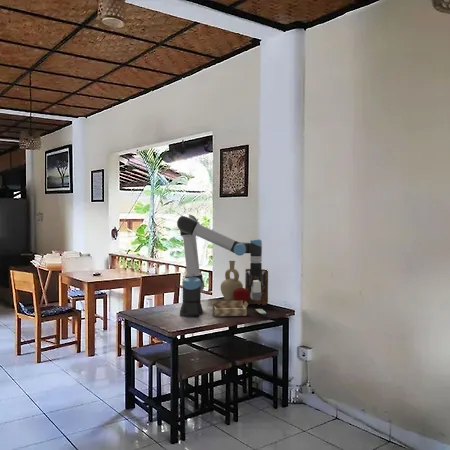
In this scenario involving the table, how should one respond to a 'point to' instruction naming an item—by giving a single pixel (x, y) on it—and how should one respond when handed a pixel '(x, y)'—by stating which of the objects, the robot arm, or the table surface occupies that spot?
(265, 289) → the book
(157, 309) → the table surface
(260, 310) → the mat
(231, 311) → the carton
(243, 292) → the apple
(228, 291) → the vase
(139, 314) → the table surface
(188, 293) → the robot arm
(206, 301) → the table surface
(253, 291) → the block
